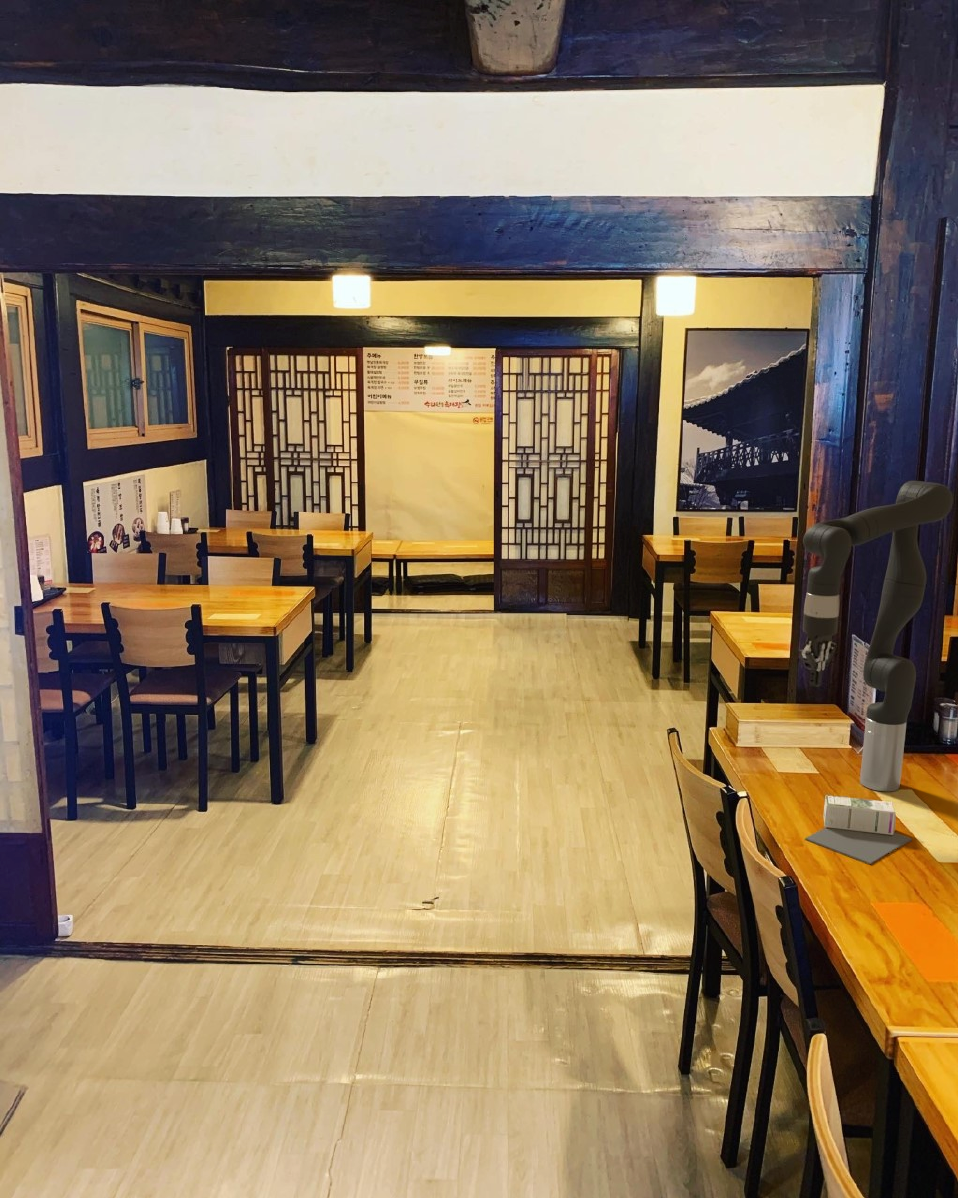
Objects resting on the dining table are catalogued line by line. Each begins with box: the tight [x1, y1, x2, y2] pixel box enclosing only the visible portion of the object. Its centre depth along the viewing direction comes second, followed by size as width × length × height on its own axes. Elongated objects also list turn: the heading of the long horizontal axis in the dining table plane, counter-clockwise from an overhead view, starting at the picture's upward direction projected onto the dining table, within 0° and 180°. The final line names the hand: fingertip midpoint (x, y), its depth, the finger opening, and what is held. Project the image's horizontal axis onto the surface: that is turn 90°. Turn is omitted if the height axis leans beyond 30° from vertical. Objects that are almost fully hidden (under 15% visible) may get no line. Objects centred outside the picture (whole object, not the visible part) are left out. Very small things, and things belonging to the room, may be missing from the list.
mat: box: [804, 827, 913, 865], centre depth 216 cm, size 18×15×1 cm
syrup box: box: [822, 794, 897, 835], centre depth 221 cm, size 6×6×14 cm
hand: (815, 685), depth 230 cm, fingers closed
